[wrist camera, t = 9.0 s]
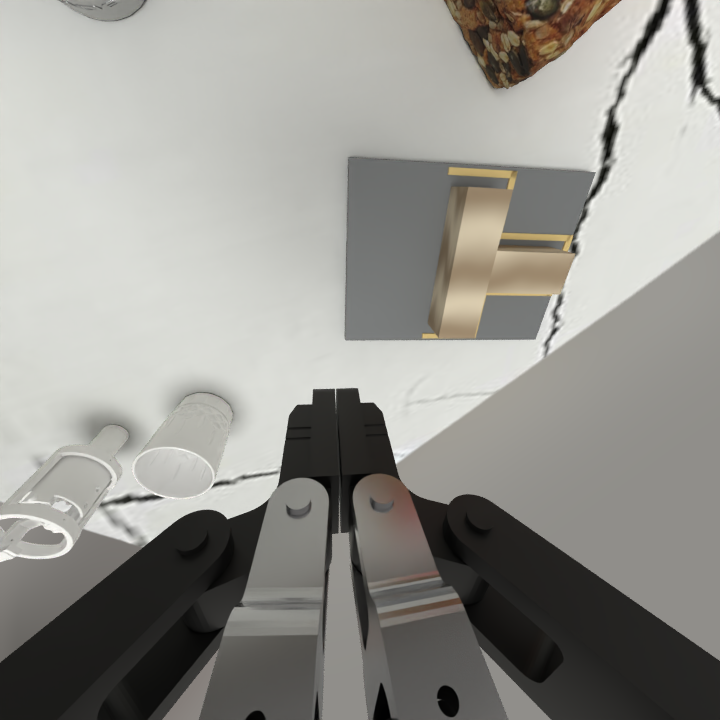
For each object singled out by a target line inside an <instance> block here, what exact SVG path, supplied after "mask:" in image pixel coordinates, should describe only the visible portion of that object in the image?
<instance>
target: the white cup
mask: <svg viewBox="0 0 720 720" xmlns="http://www.w3.org/2000/svg"><path fill="white" fill-rule="evenodd" d="M232 418H233V413H232V410H231V408H230V405H229V404H227V403H226V402H225V401H224V400H223V399H222V398H220V397H218V396H215V395H213V394H210V393H195V394H192V395H189V396H186V397H185V398H184V399H183V400H182V401H181V403H180V404H179V405H178V406H177V407H176V409H175V410H174V411H173V412H172V413H171V414H170V415H169V416H168V418H167V419H166V420H165V421H164V422H163V424H162V425H161V426H160V427H159V428H158V430H157V431H156V432H155V434H154V435H153V436H152V438H151V439H150V440H149V442H148V443H147V444H146V445H145V447H144V448H143V449H142V451H141V452H140V453H139V455H138V456H137V457H136V458H135V460H134V462H133V464H132V473H133V476H134V478H135V480H136V481H137V482H138V483H139V484H140V485H141V486H142V487H143V488H144V489H146V490H147V491H149V492H151V493H153V494H155V495H158V496H161V497H165V498H170V499H189V498H194V497H197V496H200V495H202V494H204V493H206V492H207V491H208V490H209V489H210V488H211V487H212V486H213V484H214V481H215V478H216V475H217V472H218V468H219V465H220V462H221V459H222V456H223V453H224V449H225V445H226V442H227V438H228V435H229V429H230V426H231V422H232Z"/></svg>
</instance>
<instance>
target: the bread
mask: <svg viewBox="0 0 720 720" xmlns="http://www.w3.org/2000/svg"><path fill="white" fill-rule="evenodd" d="M620 1H621V0H445V2H446V4H447V6H448V8H449V10H450V12H451V14H452V16H453V18H454V20H455V21H456V22H457V23H458V24H459V25H460V27H461V29H462V31H463V35H464V38H465V40H466V41H467V42H468V43H469V45H470V48H471V50H472V52H473V54H474V55H475V56H477V57H478V62H479V64H480V66H481V67H482V69H483V70H484V72H485V74H486V77H487V79H488V80H489V81H490V82H491V84H492V85H493V87H494V88H503V87H505V88H506V89H508V88H509V87H512V86H514V85H516V84H518V83H519V82H521V81H524V80H526V79H527V78H529V77H531V76H533V75H534V74H535V73H536V72H537V71H538V70H540V69H541V68H542V67H544V66H545V65H546V64H548V63H549V62H551V61H553V60H555V59H557V58H558V57H560V56H561V55H562V54H564V53H565V52H566V51H567V50H568V49H569V48H570V47H571V46H572V45H573V43H574V42H575V41H576V40H577V39H579V38H580V37H581V36H582V35H583V34H584V33H585V32H586V31H587V30H588V29H589V28H590V27H591V25H592V24H593V23H594V22H596V21H597V20H599V19H600V18H601V17H603V16H604V15H605V14H606V13H607V12H609V11H610V10H611V9H612V8H613V7H614V6H615V5H617V4H618V3H619V2H620Z"/></svg>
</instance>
